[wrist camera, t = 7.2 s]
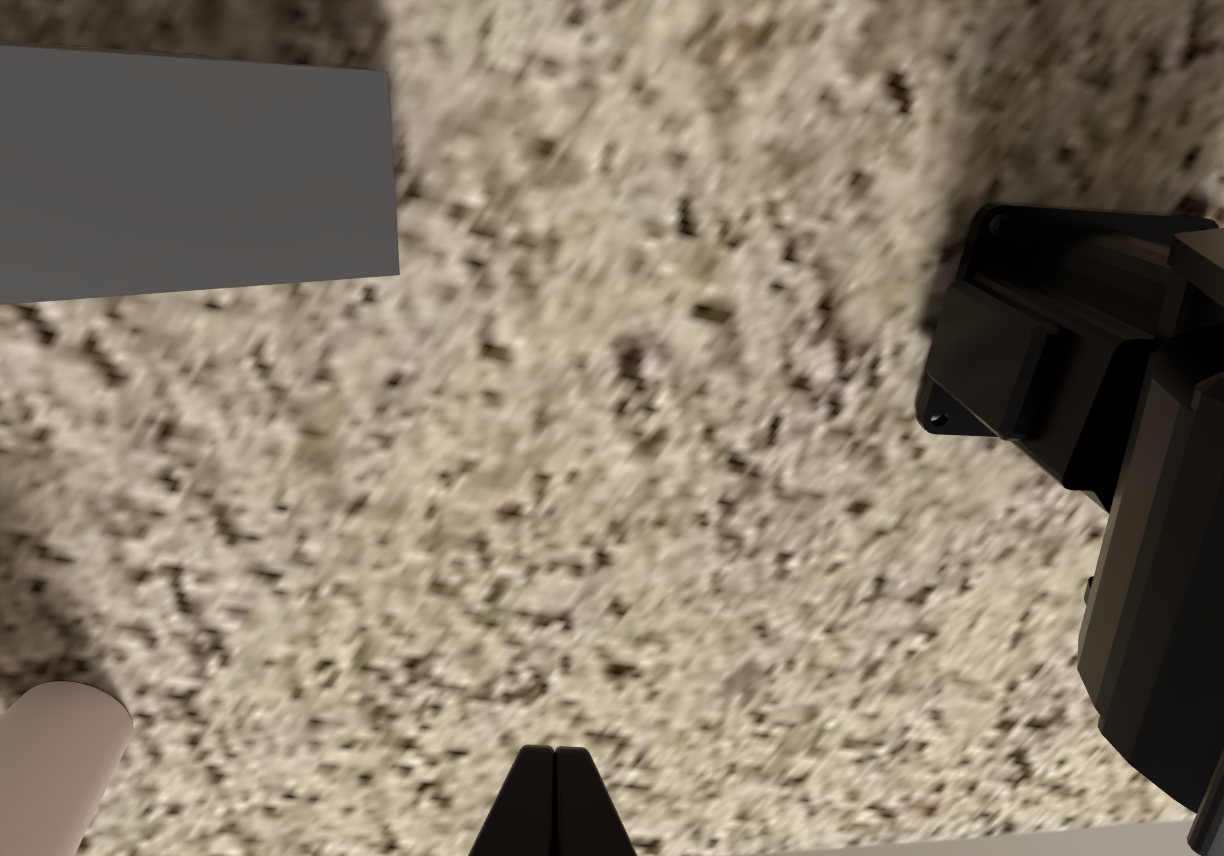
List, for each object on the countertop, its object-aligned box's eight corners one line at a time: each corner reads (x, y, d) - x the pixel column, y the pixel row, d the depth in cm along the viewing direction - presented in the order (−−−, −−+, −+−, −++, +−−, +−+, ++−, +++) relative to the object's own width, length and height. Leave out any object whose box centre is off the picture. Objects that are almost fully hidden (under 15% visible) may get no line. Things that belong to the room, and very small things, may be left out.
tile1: (388, 71, 15) (-120, 37, 11) (399, 274, 17) (-30, 306, 13) (367, 68, 17) (-99, 36, 13) (380, 259, 19) (-19, 284, 15)
